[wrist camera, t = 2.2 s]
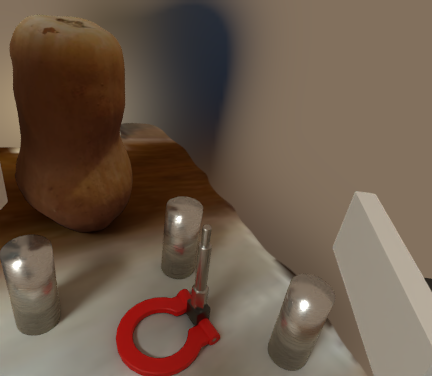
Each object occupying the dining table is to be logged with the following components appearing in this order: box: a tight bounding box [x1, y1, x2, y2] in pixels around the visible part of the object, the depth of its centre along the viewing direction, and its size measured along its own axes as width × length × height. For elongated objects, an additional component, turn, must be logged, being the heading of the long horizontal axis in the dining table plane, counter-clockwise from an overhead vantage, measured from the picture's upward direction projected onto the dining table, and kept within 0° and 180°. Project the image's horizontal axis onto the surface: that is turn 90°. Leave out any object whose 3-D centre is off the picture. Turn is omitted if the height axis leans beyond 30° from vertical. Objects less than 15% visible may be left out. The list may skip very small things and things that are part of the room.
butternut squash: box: [10, 15, 133, 232], centre depth 43 cm, size 14×13×25 cm
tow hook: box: [116, 225, 220, 376], centre depth 34 cm, size 8×13×9 cm
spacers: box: [0, 197, 335, 371], centre depth 35 cm, size 23×20×9 cm
